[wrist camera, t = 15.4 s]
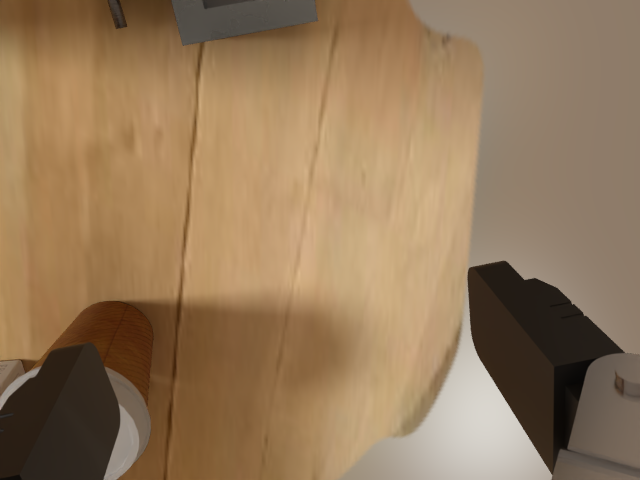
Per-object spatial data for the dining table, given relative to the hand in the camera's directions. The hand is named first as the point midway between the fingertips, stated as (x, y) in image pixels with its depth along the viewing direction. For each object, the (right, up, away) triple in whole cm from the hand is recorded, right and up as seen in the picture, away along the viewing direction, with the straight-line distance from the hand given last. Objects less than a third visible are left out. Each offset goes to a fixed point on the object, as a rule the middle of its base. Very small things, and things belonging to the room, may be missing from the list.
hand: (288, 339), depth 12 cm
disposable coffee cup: (-16, -6, +34) cm, 38 cm away
